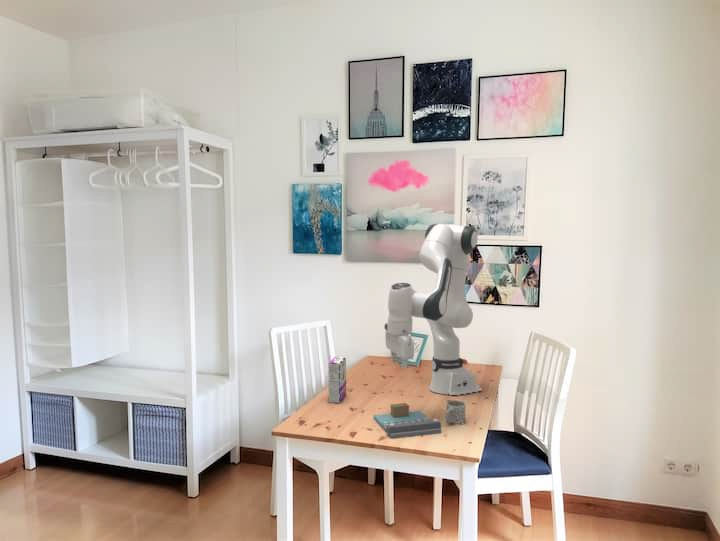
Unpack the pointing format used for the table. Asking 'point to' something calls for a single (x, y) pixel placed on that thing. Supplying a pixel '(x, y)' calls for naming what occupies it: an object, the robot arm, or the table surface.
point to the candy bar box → (337, 379)
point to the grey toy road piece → (412, 428)
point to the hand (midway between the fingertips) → (399, 365)
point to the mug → (455, 412)
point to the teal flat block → (399, 415)
